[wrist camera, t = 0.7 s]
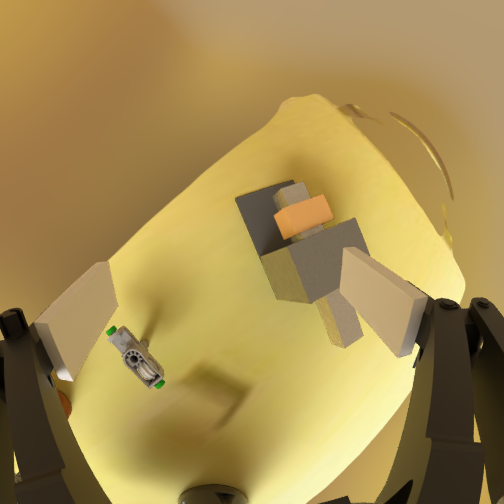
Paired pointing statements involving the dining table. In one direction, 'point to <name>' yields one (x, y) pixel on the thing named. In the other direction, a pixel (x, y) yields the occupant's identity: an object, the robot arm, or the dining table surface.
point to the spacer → (303, 216)
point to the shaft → (333, 304)
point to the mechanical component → (137, 356)
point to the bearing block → (312, 263)
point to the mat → (263, 218)
